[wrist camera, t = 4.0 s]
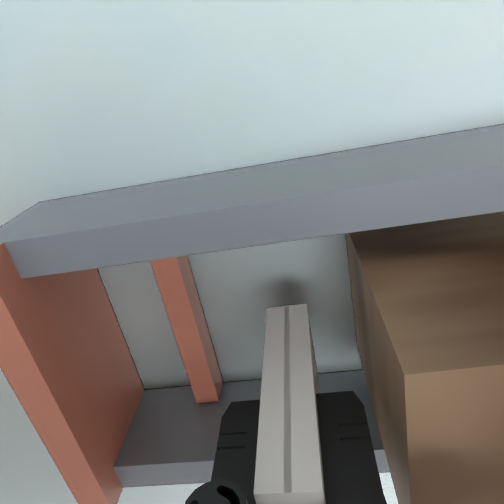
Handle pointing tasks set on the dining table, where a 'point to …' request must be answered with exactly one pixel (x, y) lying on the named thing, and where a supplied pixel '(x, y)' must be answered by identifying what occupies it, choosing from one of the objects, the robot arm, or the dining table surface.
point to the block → (435, 353)
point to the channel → (193, 293)
